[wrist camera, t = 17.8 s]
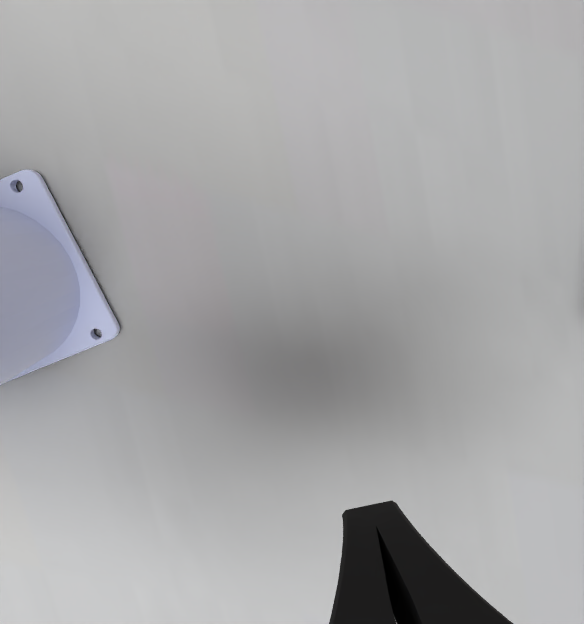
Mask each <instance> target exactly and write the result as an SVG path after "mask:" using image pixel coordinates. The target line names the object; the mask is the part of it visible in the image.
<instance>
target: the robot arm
mask: <svg viewBox="0 0 584 624" xmlns="http://www.w3.org/2000/svg"><path fill="white" fill-rule="evenodd" d="M18 181H20V182H21V183H22V184H23V190H22V191H21V192H19V191H18V190H17V189H16V183H17V182H18ZM94 329H99V330H100V331H101V332H102V337H98V336H96V335H95V334H94ZM119 331H120V327H119V324H118V322H117V320H116V318H115V316H114V314H113V312H112V310H111V308H110V306H109V305H108V303H107V301H106V299H105V297H104V295H103V293H102V291H101V289H100V287H99V285H98V283H97V282H96V280H95V278H94V276H93V274H92V272H91V270H90V268H89V266H88V264H87V262H86V260H85V258H84V257H83V255H82V253H81V251H80V249H79V247H78V245H77V243H76V241H75V239H74V237H73V235H72V234H71V232H70V230H69V228H68V226H67V224H66V222H65V220H64V218H63V216H62V214H61V212H60V210H59V209H58V207H57V205H56V203H55V201H54V199H53V197H52V195H51V193H50V191H49V189H48V187H47V186H46V184H45V182H44V180H43V178H42V176H41V175H40V174H39V173H38V172H36V171H34V170H28V169H25V170H21V171H18V172H16V173H14V174H12V175H9V176H7V177H5V178H2V179H0V385H2V384H3V383H5V382H8V381H10V380H13V379H15V378H18V377H20V376H23V375H25V374H28V373H30V372H32V371H35V370H37V369H40V368H42V367H45V366H47V365H50V364H52V363H55V362H57V361H60V360H62V359H65V358H67V357H69V356H72V355H74V354H77V353H79V352H82V351H84V350H87V349H89V348H92V347H94V346H97V345H99V344H102V343H104V342H106V341H109V340H111V339H113V338H114V337H116V336H117V335H118V333H119ZM342 517H343V547H342V557H341V565H340V572H339V579H338V585H337V590H336V595H335V599H334V604H333V609H332V614H331V618H330V622H329V624H396V622H397V624H513V623H512V622H510V621H509V620H508V619H507V618H506V617H504V616H503V615H502V614H501V613H500V612H498V611H497V610H496V609H495V608H494V607H492V606H491V605H490V604H489V603H488V602H487V601H486V600H484V599H483V598H482V597H481V596H480V595H479V594H478V593H477V592H476V591H475V590H473V589H472V588H471V587H470V586H469V585H468V584H467V583H466V582H465V581H464V580H463V579H462V578H461V577H460V576H459V575H458V574H457V573H456V572H455V571H454V570H453V569H452V568H451V567H450V566H449V565H448V564H447V563H446V562H445V561H444V560H443V559H442V558H441V557H440V556H439V555H438V554H437V553H436V552H435V550H434V549H433V548H432V547H431V546H430V545H429V544H428V543H427V542H426V541H425V539H424V538H423V537H422V536H421V535H420V534H419V532H418V531H417V530H416V529H415V528H414V527H413V525H412V524H411V523H410V521H409V520H408V519H407V518H406V516H405V515H404V514H403V512H402V511H401V509H400V508H399V507H398V505H397V504H396V503H395V502H393V501H387V502H383V503H378V504H373V505H368V506H363V507H359V508H354V509H349V510H345V512H344V513H343V514H342ZM394 617H395V618H394ZM395 620H396V621H395Z"/></svg>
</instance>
